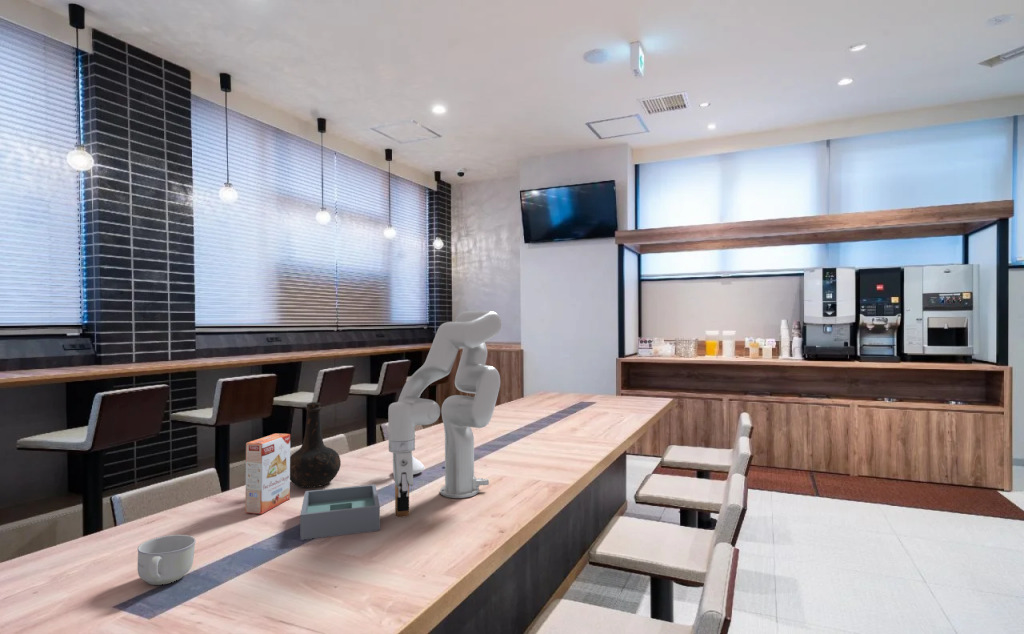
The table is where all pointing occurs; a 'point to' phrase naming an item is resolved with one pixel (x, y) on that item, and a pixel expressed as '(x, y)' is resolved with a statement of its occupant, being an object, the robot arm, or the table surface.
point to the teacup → (165, 558)
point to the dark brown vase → (313, 455)
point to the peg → (397, 513)
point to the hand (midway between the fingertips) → (402, 507)
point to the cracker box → (267, 472)
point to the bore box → (339, 512)
